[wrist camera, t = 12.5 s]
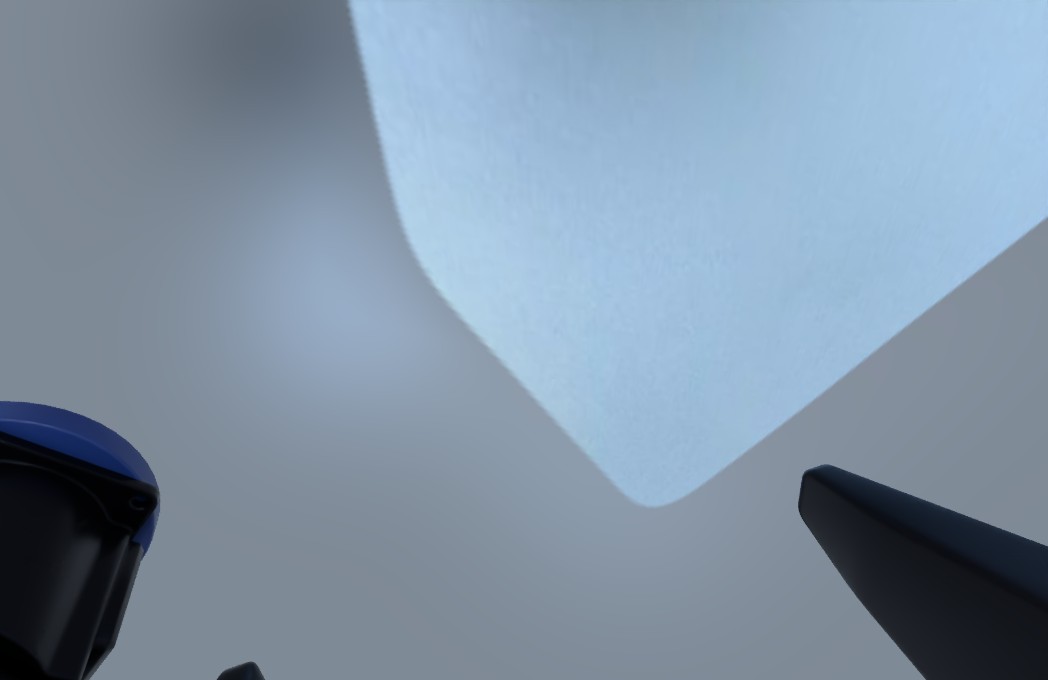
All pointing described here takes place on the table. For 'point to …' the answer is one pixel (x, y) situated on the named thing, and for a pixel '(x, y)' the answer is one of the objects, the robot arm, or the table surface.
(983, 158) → the table surface
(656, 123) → the table surface
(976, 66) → the table surface
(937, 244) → the table surface
